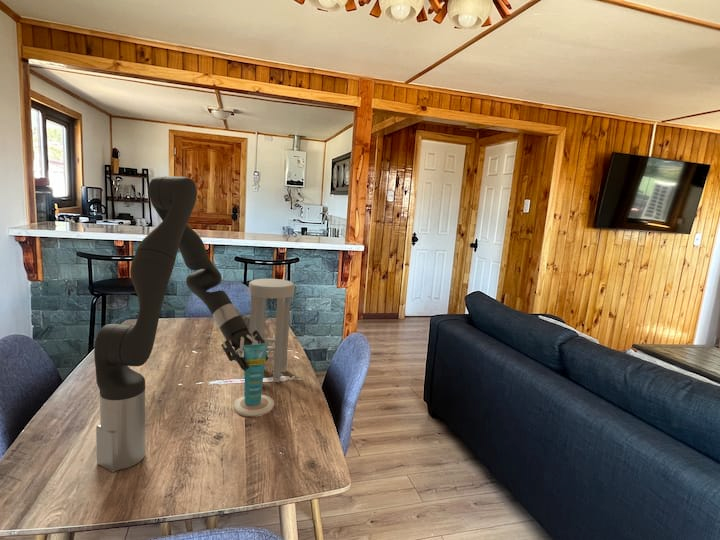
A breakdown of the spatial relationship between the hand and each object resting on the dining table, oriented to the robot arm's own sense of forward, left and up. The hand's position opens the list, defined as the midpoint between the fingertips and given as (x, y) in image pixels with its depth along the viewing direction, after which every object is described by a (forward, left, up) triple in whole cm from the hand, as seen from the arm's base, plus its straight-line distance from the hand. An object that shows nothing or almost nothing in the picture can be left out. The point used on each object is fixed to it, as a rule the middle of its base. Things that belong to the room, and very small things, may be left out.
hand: (256, 365), depth 126 cm
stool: (+21, +12, -14) cm, 28 cm away
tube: (0, +1, -13) cm, 13 cm away
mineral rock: (+48, +52, -14) cm, 72 cm away
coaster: (0, 0, -14) cm, 14 cm away
